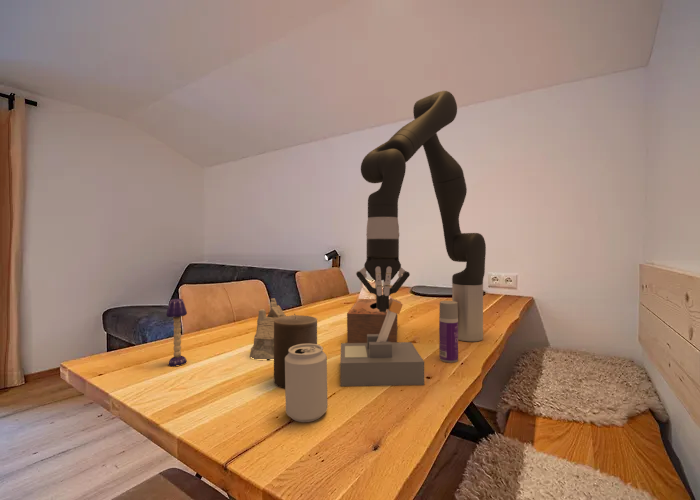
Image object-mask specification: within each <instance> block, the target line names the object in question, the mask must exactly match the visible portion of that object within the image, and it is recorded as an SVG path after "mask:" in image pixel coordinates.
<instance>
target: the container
mask: <svg viewBox="0 0 700 500" xmlns="http://www.w3.org/2000/svg"><path fill="white" fill-rule="evenodd" d="M438 315H439V321H438V323H439V326H438V327H439V329H438V330H439V331H438V333H439V335H438V337H439V339H438V340H439V341H438V342H439V347H438V348H439V351H438V353H439V355H438V356H439V360H440V361H441V362H443V363H451V364H452V363H453V362H454V363H457V362H459V340H458V303H457V302H455V301H452V300H440V301H439V314H438Z"/></svg>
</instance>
